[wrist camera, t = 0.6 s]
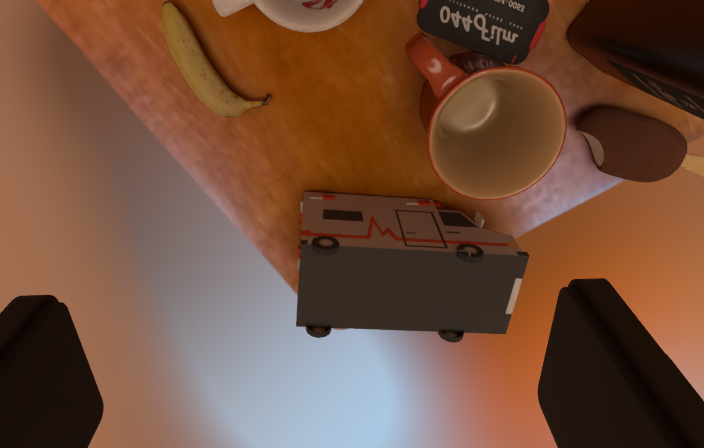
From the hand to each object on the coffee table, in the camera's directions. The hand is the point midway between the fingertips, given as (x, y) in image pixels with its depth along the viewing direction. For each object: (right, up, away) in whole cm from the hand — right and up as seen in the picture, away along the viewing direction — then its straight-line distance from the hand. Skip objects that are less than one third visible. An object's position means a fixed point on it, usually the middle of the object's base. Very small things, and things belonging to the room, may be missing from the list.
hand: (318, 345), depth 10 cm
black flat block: (+11, +20, +27) cm, 35 cm away
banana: (-12, +12, +29) cm, 34 cm away
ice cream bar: (+33, +6, +34) cm, 47 cm away
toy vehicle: (+5, -3, +28) cm, 29 cm away
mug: (+8, +14, +31) cm, 35 cm away
